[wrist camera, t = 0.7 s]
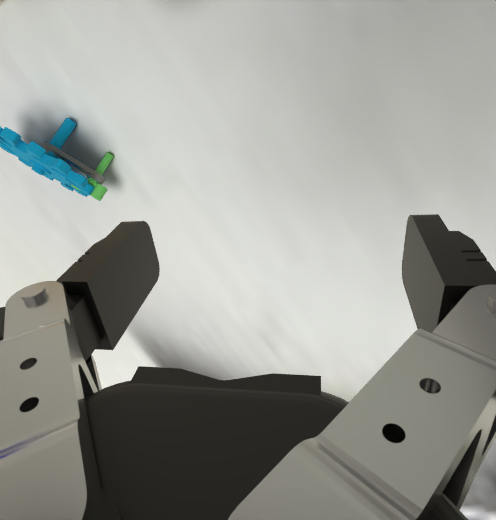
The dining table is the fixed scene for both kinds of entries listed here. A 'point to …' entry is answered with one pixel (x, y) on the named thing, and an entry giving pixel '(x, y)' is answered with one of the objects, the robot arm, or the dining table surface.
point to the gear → (57, 161)
